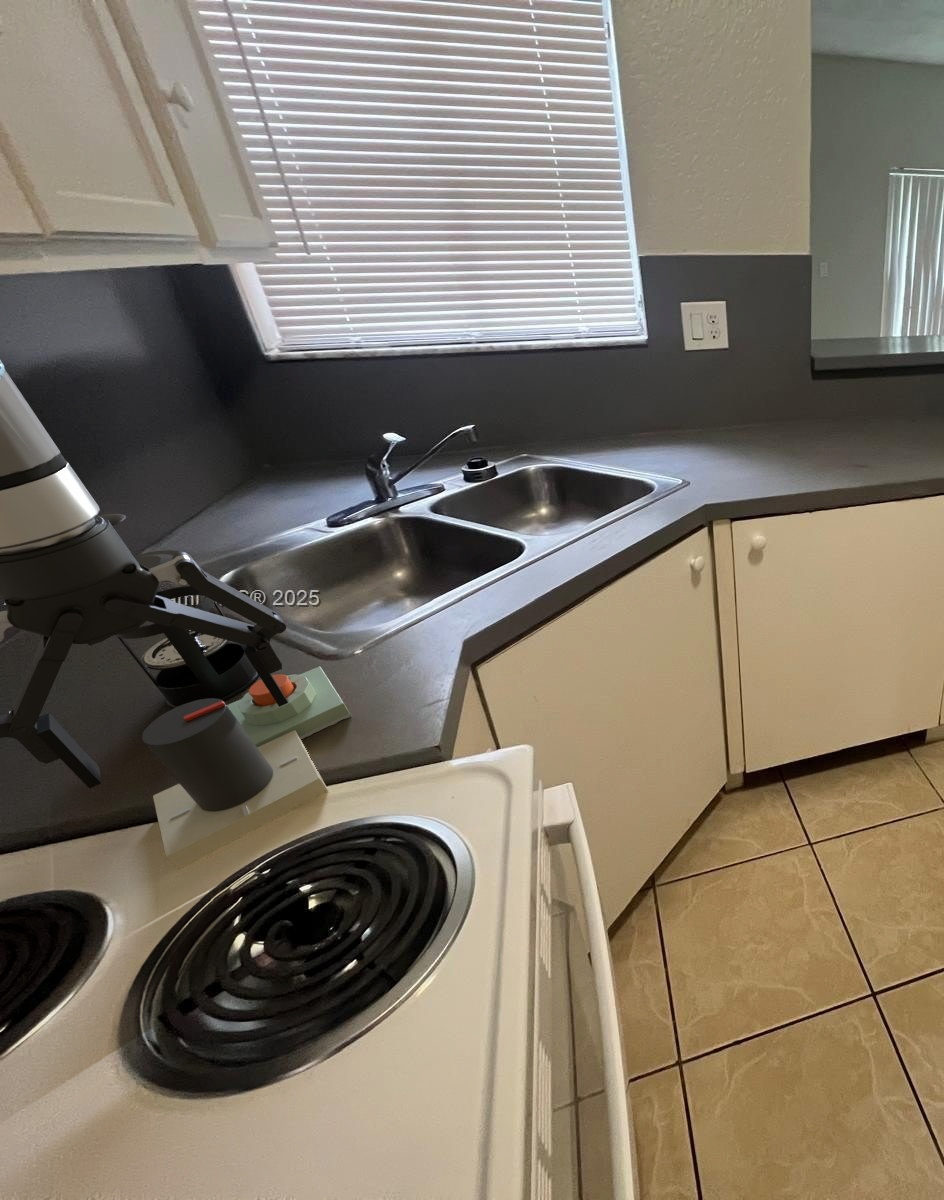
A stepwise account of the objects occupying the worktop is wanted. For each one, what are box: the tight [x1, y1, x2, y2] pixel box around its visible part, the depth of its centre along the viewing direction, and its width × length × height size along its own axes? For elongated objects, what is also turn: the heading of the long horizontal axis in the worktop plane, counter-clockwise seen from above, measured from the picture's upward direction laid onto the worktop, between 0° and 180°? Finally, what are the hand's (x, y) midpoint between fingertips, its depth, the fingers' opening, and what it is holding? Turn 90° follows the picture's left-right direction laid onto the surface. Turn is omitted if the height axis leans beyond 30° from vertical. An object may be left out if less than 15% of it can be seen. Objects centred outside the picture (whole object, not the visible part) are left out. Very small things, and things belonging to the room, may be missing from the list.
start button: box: [248, 673, 295, 707], centre depth 71 cm, size 4×4×2 cm
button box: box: [226, 665, 351, 747], centre depth 72 cm, size 10×10×4 cm
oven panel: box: [152, 730, 329, 871], centre depth 63 cm, size 10×12×2 cm
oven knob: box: [141, 698, 273, 811], centre depth 60 cm, size 6×6×9 cm
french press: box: [98, 513, 260, 710], centre depth 72 cm, size 12×9×23 cm
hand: (194, 735), depth 58 cm, fingers open, 13 cm apart
